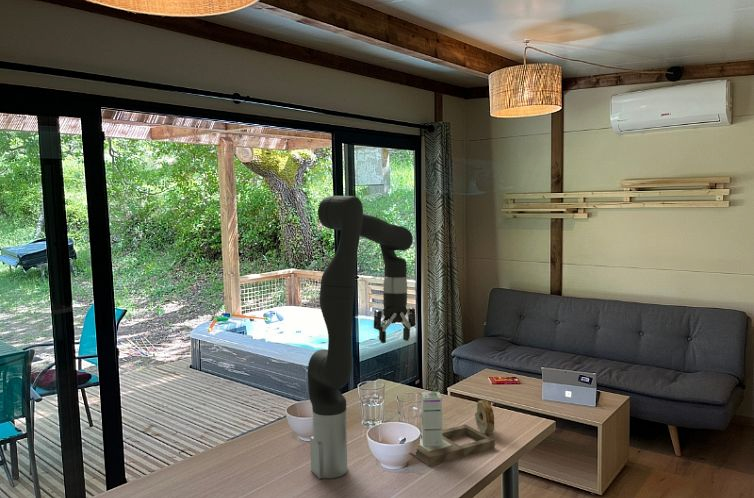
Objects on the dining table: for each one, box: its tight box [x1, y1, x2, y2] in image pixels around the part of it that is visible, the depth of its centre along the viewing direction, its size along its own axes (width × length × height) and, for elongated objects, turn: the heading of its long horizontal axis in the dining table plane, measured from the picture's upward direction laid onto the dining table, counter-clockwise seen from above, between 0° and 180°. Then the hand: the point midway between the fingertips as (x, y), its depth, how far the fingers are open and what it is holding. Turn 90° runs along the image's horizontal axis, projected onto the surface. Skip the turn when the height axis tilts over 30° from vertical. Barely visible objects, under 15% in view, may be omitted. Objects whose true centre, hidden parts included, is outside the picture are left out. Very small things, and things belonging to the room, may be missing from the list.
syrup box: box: [421, 390, 443, 447], centre depth 166 cm, size 6×6×14 cm
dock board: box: [414, 424, 496, 467], centre depth 169 cm, size 24×14×3 cm, turn 119°
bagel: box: [474, 399, 495, 435], centre depth 181 cm, size 10×4×10 cm, turn 9°
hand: (394, 341), depth 181 cm, fingers open, 8 cm apart
